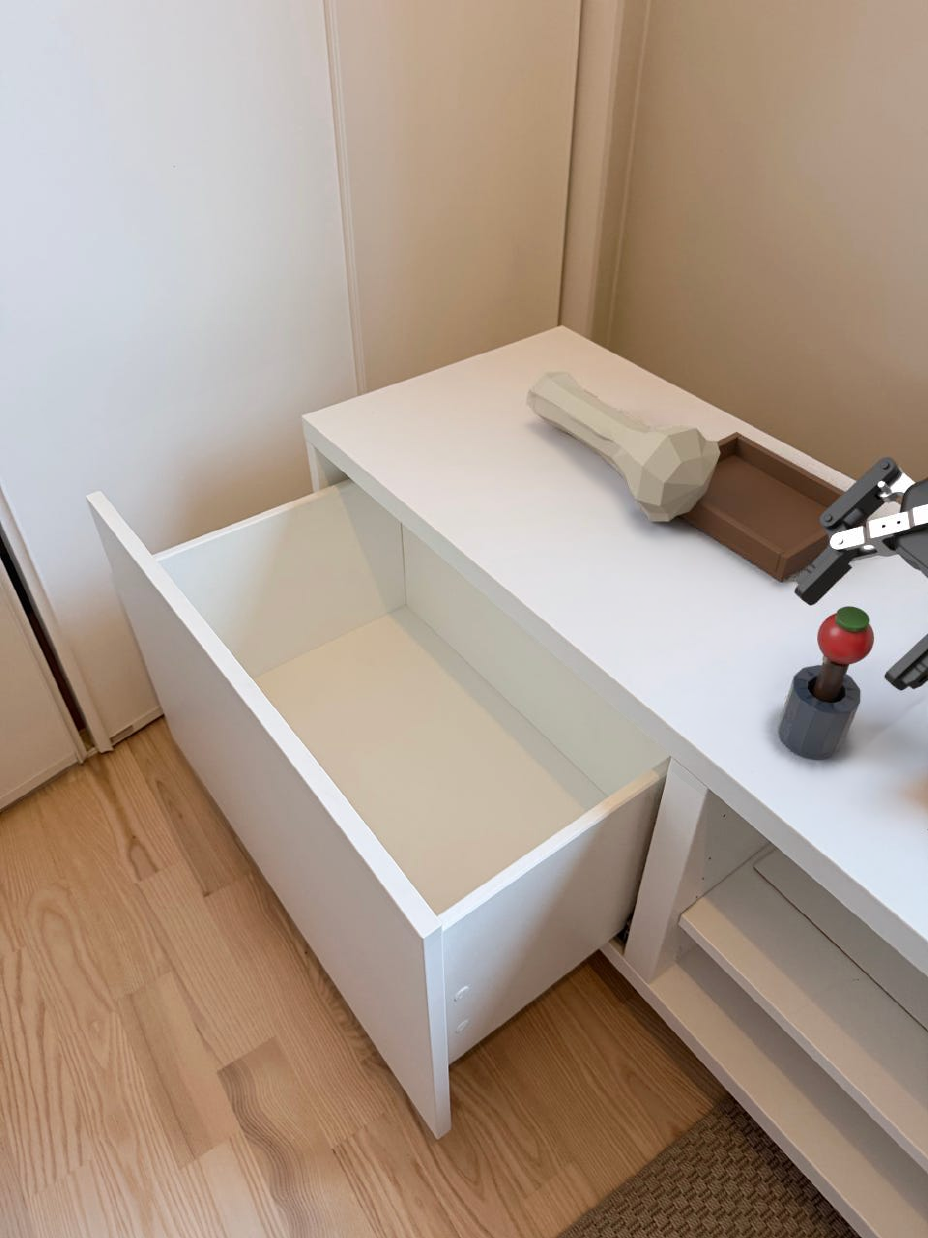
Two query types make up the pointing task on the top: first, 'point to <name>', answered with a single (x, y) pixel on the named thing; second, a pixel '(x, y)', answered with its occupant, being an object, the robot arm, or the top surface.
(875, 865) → the top surface
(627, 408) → the top surface
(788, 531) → the tray
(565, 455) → the top surface
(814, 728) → the holder
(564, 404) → the faceted club
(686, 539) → the top surface
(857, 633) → the red ball joystick
